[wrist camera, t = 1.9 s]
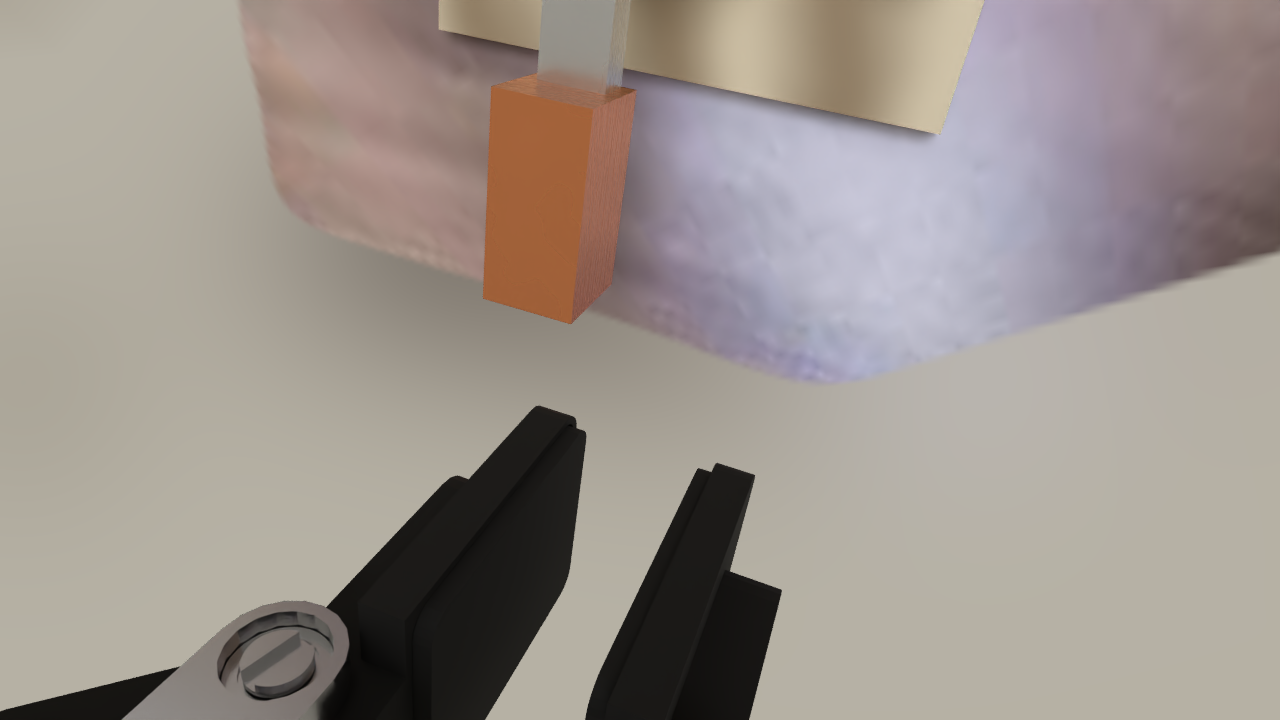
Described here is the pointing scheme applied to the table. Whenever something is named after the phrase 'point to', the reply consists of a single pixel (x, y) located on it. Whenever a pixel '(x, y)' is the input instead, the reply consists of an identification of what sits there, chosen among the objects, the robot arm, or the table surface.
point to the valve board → (780, 48)
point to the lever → (560, 164)
